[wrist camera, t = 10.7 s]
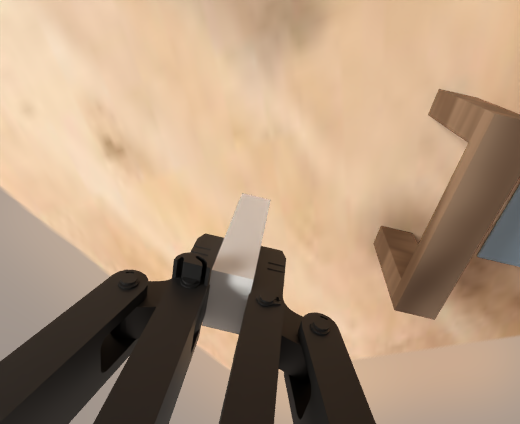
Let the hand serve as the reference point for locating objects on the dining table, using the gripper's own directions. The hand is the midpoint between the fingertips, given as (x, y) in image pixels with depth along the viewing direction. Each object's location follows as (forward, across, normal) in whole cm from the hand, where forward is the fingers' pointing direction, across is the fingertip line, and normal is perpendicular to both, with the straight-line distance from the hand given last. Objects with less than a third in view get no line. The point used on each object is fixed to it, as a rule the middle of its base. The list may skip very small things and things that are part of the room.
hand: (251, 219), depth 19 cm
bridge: (+14, +13, 0) cm, 19 cm away
